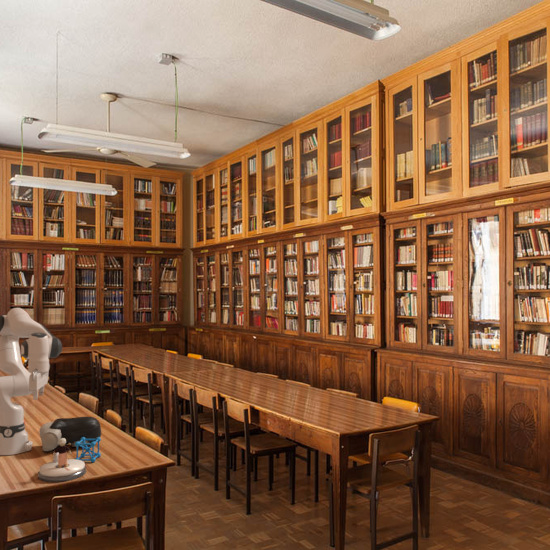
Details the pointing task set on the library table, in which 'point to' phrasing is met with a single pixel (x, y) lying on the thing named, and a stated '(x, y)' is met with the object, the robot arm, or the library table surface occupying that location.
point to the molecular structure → (87, 449)
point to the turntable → (54, 471)
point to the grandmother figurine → (62, 453)
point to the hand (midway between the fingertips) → (38, 397)
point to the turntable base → (61, 477)
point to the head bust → (69, 432)
